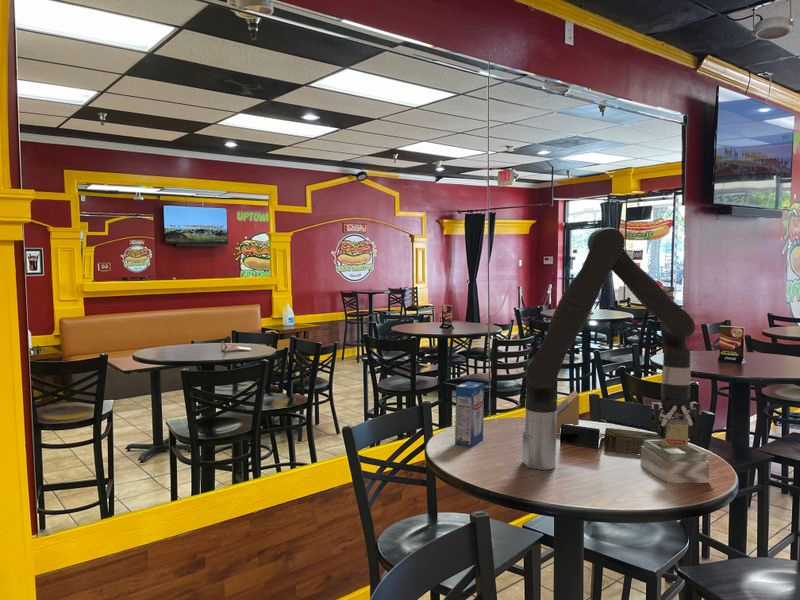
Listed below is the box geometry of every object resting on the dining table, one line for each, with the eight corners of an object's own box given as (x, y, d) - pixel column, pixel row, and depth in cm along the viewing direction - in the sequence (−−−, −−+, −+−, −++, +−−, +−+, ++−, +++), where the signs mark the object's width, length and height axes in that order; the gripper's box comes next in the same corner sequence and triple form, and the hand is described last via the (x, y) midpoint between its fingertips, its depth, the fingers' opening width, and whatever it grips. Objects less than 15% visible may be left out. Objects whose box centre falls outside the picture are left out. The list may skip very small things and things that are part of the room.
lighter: (662, 446, 163) (663, 412, 162) (659, 443, 166) (660, 409, 166) (689, 448, 161) (690, 414, 161) (685, 444, 165) (686, 411, 165)
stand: (667, 483, 156) (668, 455, 156) (640, 465, 171) (641, 439, 171) (708, 482, 157) (709, 454, 157) (678, 464, 172) (679, 438, 172)
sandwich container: (532, 427, 214) (533, 388, 213) (574, 428, 212) (575, 389, 211) (535, 433, 205) (536, 392, 205) (578, 435, 203) (579, 394, 203)
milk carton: (472, 447, 187) (472, 388, 186) (455, 444, 191) (455, 386, 190) (483, 440, 196) (484, 383, 195) (466, 437, 199) (467, 381, 198)
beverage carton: (667, 459, 178) (668, 438, 178) (603, 452, 185) (604, 432, 184) (665, 451, 185) (666, 432, 185) (604, 445, 192) (604, 426, 192)
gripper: (692, 379, 167) (690, 433, 168) (645, 379, 166) (644, 434, 167) (707, 383, 160) (705, 441, 161) (659, 384, 159) (657, 442, 160)
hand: (674, 437), depth 164 cm, fingers closed on lighter, 7 cm apart
